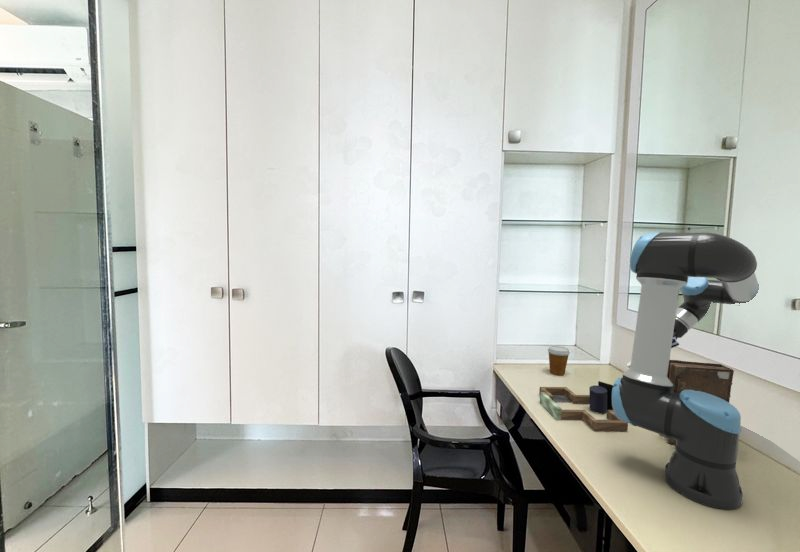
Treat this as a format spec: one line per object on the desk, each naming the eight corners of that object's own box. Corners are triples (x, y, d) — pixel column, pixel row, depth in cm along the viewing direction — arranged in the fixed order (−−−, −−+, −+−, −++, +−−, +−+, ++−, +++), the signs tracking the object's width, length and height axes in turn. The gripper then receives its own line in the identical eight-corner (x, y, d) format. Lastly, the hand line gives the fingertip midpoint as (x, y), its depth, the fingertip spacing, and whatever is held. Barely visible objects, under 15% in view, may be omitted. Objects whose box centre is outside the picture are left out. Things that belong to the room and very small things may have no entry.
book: (717, 440, 115) (726, 363, 112) (731, 453, 108) (741, 371, 105) (657, 432, 119) (664, 358, 117) (667, 444, 112) (674, 365, 110)
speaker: (600, 404, 139) (601, 378, 137) (614, 411, 133) (615, 385, 131) (585, 408, 136) (586, 382, 134) (598, 416, 131) (599, 389, 129)
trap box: (631, 431, 119) (632, 419, 119) (567, 431, 118) (568, 419, 118) (584, 394, 148) (584, 384, 148) (531, 394, 147) (532, 384, 147)
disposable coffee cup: (549, 368, 178) (550, 344, 177) (570, 373, 173) (571, 348, 171) (543, 374, 170) (545, 348, 169) (565, 378, 165) (567, 353, 164)
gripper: (700, 335, 126) (649, 382, 127) (670, 326, 139) (624, 368, 140) (686, 320, 125) (635, 367, 126) (658, 312, 138) (612, 355, 139)
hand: (629, 367), depth 133 cm, fingers closed
